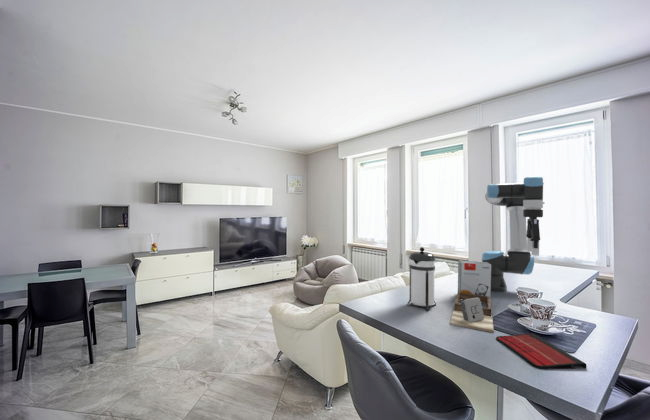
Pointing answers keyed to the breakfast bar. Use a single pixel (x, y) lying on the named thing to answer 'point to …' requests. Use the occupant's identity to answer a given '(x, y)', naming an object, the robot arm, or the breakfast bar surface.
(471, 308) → the electrical switch
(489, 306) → the holder frame
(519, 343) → the binder
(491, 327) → the birch board
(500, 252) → the robot arm
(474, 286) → the hard drive box
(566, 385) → the breakfast bar surface
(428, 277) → the coffee press
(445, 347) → the breakfast bar surface
